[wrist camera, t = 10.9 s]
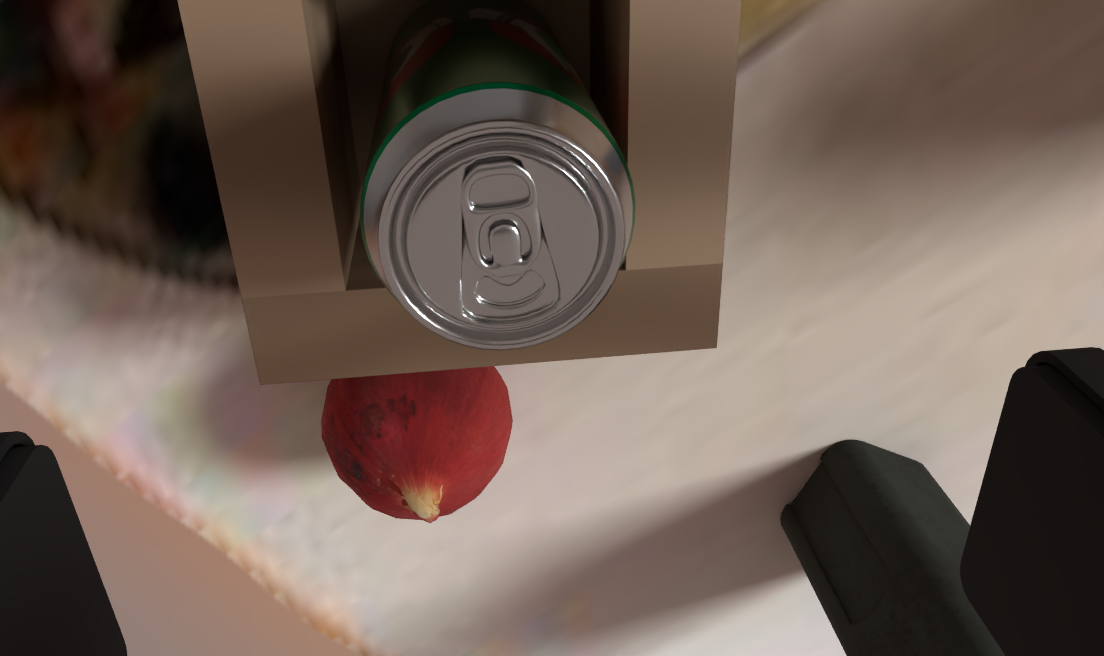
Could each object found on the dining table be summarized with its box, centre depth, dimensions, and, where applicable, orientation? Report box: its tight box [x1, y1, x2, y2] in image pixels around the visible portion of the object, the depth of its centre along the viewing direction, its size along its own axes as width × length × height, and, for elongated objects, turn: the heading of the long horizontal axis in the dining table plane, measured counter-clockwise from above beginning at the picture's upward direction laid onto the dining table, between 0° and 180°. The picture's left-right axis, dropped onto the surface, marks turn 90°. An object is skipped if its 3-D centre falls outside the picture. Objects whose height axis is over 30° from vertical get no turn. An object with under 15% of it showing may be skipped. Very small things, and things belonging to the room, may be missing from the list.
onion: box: [321, 366, 513, 523], centre depth 28 cm, size 6×6×8 cm
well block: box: [177, 0, 742, 385], centre depth 24 cm, size 12×12×7 cm
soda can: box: [360, 0, 635, 350], centre depth 21 cm, size 5×5×12 cm
